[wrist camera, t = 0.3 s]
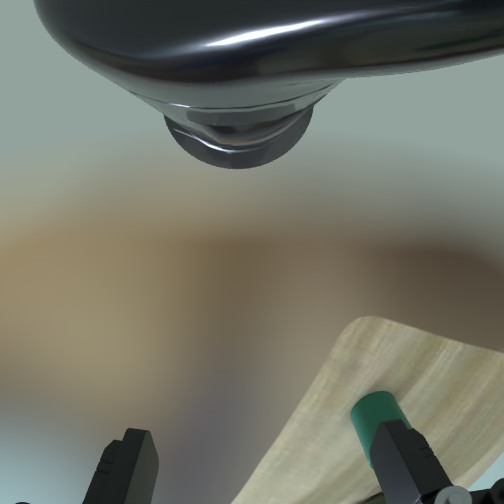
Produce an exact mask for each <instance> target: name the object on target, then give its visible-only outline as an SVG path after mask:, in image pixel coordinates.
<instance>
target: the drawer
mask: <svg viewBox="0 0 504 504" xmlns="http://www.w3.org/2000/svg"><path fill="white" fill-rule="evenodd" d="M365 504H387V502H386V499H385V496H382V497H380V498H377V499H375V500H372V501H370V502H367V503H365Z"/></svg>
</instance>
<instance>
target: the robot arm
mask: <svg viewBox="0 0 504 504" xmlns="http://www.w3.org/2000/svg"><path fill="white" fill-rule="evenodd" d="M33 2H34V5H35V8H36V12H37V14H38V16H39V18H40V20H41V22H42V24H43V26H44V27H45V29H46V30H47V32H48V33H49V34H50V36H51V37H52V38H53V39H54V40H55V41H56V42H57V43H58V44H59V45H60V46H61V47H62V48H63V49H64V50H65V51H66V52H67V53H69V54H70V55H71V56H73V57H74V58H75V59H77V60H78V61H80V62H81V63H82V64H84V65H85V66H87V67H88V68H90V69H92V70H93V71H95V72H97V73H99V74H100V75H102V76H104V77H105V78H107V79H109V80H110V81H112V82H113V83H115V84H117V85H118V86H120V87H122V88H123V89H125V90H127V91H128V92H130V93H131V94H133V95H135V96H136V97H138V98H139V99H141V100H142V101H144V102H146V103H147V104H149V105H150V106H152V107H153V108H155V109H157V110H158V111H159V112H161V113H162V114H164V115H165V116H167V117H168V118H170V119H171V120H173V121H174V122H176V123H177V124H179V125H180V126H181V127H183V128H184V129H186V130H187V131H189V132H190V133H191V134H192V135H193V136H194V137H193V138H195V139H198V140H199V141H201V142H202V143H204V144H206V145H207V146H209V147H212V148H214V149H217V150H221V151H225V152H228V153H229V152H236V153H239V152H249V151H253V150H257V149H260V148H262V147H265V146H267V145H269V144H270V143H272V142H273V141H275V140H276V139H278V138H279V137H280V136H281V135H282V134H283V133H284V132H285V131H286V130H287V129H288V128H289V127H290V126H291V125H292V124H293V123H294V122H295V121H296V120H298V119H299V118H300V117H301V116H302V115H303V114H304V113H306V112H307V111H308V110H309V109H310V108H311V107H313V106H314V105H315V104H316V103H317V102H318V101H320V100H321V99H322V98H323V97H324V96H326V95H327V93H329V92H330V91H331V90H332V89H333V88H335V87H336V86H337V85H338V84H339V83H341V82H342V81H343V80H344V79H346V78H355V77H370V76H382V75H393V74H403V73H412V72H419V71H426V70H434V69H439V68H444V67H449V66H454V65H460V64H464V63H468V62H472V61H476V60H481V59H485V58H489V57H494V56H498V55H503V54H504V0H33ZM174 130H175V129H174ZM176 131H178V130H176ZM179 132H180V131H179ZM181 133H183V132H181ZM184 134H185V133H184ZM186 135H187V134H186ZM188 136H190V135H188ZM191 137H192V136H191ZM230 154H231V153H230ZM369 455H370V461H371V464H372V466H373V469H374V471H375V474H376V476H377V479H378V481H379V484H380V486H381V489H382V491H383V494H384V496H385V499H386V502H387V504H504V478H502V479H499V480H498V481H497V482H495V484H494V485H493V486H492V487H491V488H490V489H484V490H478V491H472V492H468V491H467V490H466V489H465V488H463V487H460V486H454V485H453V484H452V483H451V481H450V480H449V478H448V476H447V474H446V473H445V471H444V469H443V468H442V466H441V464H440V463H439V461H438V459H437V458H436V456H434V452H433V451H432V449H431V448H429V444H428V443H427V441H426V439H425V438H424V436H423V435H422V434H420V433H419V432H418V431H416V430H415V429H414V428H411V429H407V427H406V425H405V423H404V422H403V420H402V419H400V418H397V419H392V420H387V421H382V422H380V423H379V424H378V427H377V430H376V433H375V436H374V438H373V441H372V444H371V446H370V452H369ZM158 468H159V459H158V454H157V451H156V448H155V445H154V442H153V439H152V436H151V433H150V431H148V430H140V429H133V428H128V429H127V430H126V432H125V435H124V438H123V440H122V441H120V440H113V441H112V442H111V443H110V444H109V445H108V446H107V447H106V448H105V449H104V452H103V454H102V456H101V459H100V462H99V464H98V466H97V468H96V469H97V471H95V473H94V476H93V478H92V481H91V483H90V486H89V488H88V491H87V493H86V496H85V499H84V501H83V503H82V504H151V500H152V495H153V491H154V487H155V482H156V478H157V473H158ZM16 504H29V503H26V502H19V503H16Z"/></svg>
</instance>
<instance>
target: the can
mask: <svg viewBox="0 0 504 504" xmlns="http://www.w3.org/2000/svg"><path fill="white" fill-rule="evenodd" d="M397 418H400V419H402V420H403V422H404V423H405V425H406V427H407V429H411V428H412V427H411V425H410V424H409V422H408V420H407V418H406V417H405V415H404V413H403V412H402V410H401V408H400V407H399V405H398V403H397V402H396V400H395V398H394V397H393V395H392V394H390V393H388V392H375V393H372V394H370V395H368V396H366V397H364V398H363V399H361V400H360V401H359V402H358V403H357V404H356V405H355V406H354V408H353V409H352V412H351V420H352V422H353V425H354V427H355V430H356V432H357V435H358V437H359V440H360V442H361V445H362V447H363V450H364V452H365V455H366V457H367V460H368V463H369V465H370V467H371V468H373V466H372V464H371V461H370V455H369V452H370V446H371V444H372V441H373V438H374V436H375V433H376V430H377V427H378V424H379V423H380V422H382V421H387V420H392V419H397Z"/></svg>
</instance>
